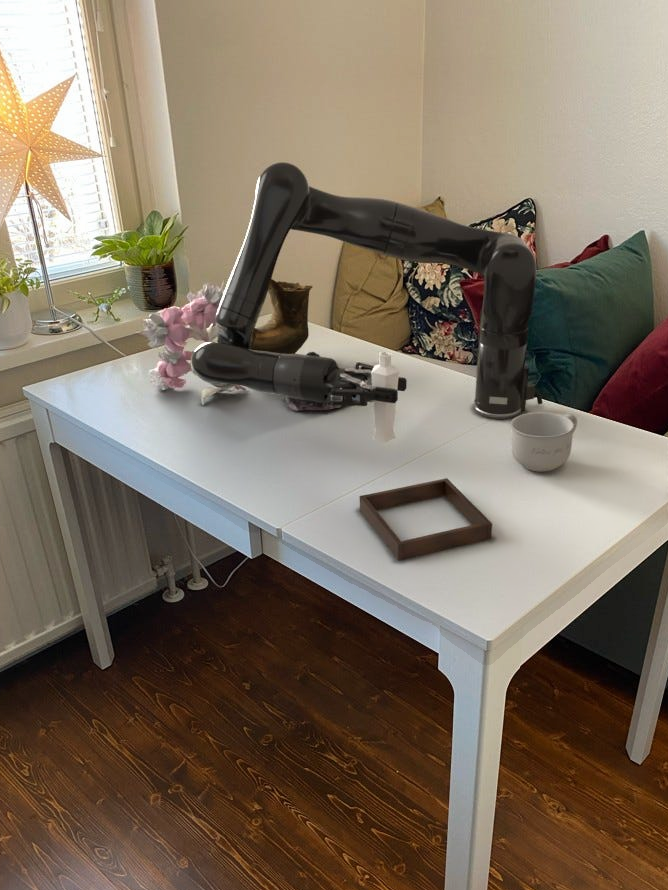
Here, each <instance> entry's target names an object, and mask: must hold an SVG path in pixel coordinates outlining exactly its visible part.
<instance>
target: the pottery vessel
mask: <svg viewBox="0 0 668 890" xmlns="http://www.w3.org/2000/svg"><path fill="white" fill-rule="evenodd" d="M313 287H314V286H313V285H308V284H304V285H303V284H302V285H301V284H300V282H287V281H283V280H282V281H280V280H278V281H277V280H274V279H273V278H271V282H270V285H269V289H268V292H267V294H268V295H269V298H270V304H271V305H270V306H271V310H272V312H271V315H270V316H271V317H270V318H269V319H268V321H266V322H265V323H263V324H262V325H260V326H258V327H256V326H257V324H256V325H255V328H254V330H253V333H252V341H251V348H250V349H251V350H256V351H267V352H275V353H283V354H297V352H298V351H299V350H300V349H301V348H302V347H303V346H304V345H305V344H306V342H307V340H308V338H309V335H310V333H309V332H310V331H309V301H310V291H311V290H312V289H313Z"/></svg>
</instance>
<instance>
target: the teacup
mask: <svg viewBox="0 0 668 890" xmlns="http://www.w3.org/2000/svg"><path fill="white" fill-rule="evenodd" d="M577 426H578V418H577V416H576V415H575V414H573V413H570V412H569V413H565V414H564V415H562V414H558V413H555V412H547V411H545V412H544V411H542V412H541V411H538V412H537V411H536V412H528V413H527V412H526V413H524V414H519V415H517V416H515V417H513V419H512V420H511V422H510V427H511V431H510V444H511V445H510V447H511V455H512V457H513V458H514V460H515V461H516V462H517V463H518V464H519V465H521V466H522V467H523V468H524V469H526V470H529V471H533V472H540V473H541V472H543V473H544V472H550V471H553V470H556V469H558V468H559V467H561V466H562V465H563V464H565V463H566V462H567V461H568V460H569V458H570V456H571V452H572V446H573V434H574V433H575V431H576V429H577Z"/></svg>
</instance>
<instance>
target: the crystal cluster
mask: <svg viewBox="0 0 668 890" xmlns="http://www.w3.org/2000/svg"><path fill="white" fill-rule="evenodd" d="M305 355H310V356H317V357H321V356H320V354H319V353H316V352H315V351H308V352H307V353H306V354H305ZM284 399H285V403H286V404H287V405H288V407H289V408H290V409H291V410H292V411H296V412H298V411H299V412H301V411H324V410H325V411H329V410H334V409H340V408H341V407H342V406H340V405H331V401H330V402H328V403H324V402H317V401H310V400H303V399H296V398H290V397H286V396H284Z"/></svg>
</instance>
